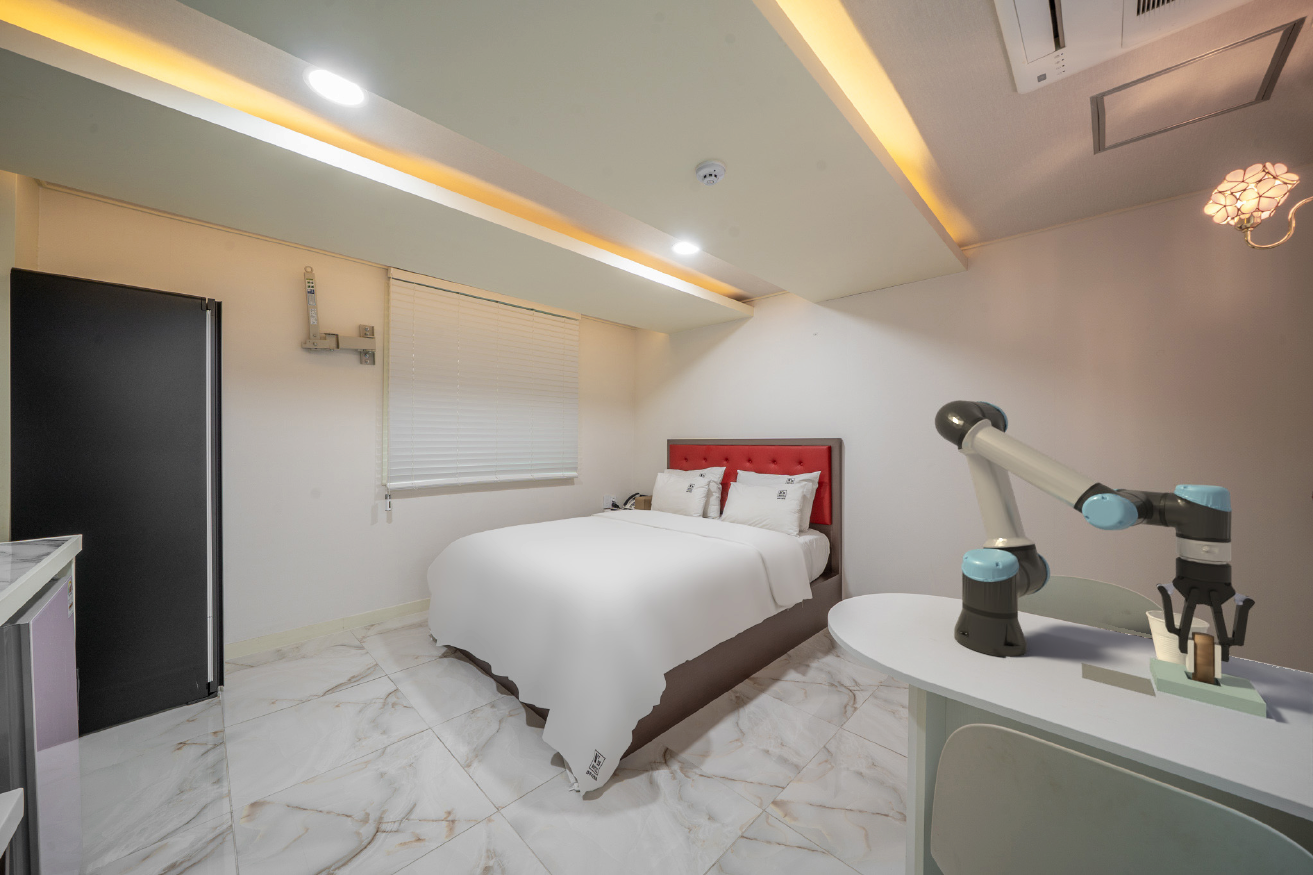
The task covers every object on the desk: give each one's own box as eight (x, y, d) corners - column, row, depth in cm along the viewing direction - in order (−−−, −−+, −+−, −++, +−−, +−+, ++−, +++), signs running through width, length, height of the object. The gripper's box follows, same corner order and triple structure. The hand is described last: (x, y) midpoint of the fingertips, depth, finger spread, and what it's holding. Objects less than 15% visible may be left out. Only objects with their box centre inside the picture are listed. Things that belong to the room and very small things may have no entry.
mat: (1082, 679, 101) (1082, 677, 101) (1081, 664, 108) (1081, 662, 108) (1155, 698, 94) (1155, 696, 94) (1150, 681, 101) (1150, 679, 101)
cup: (1224, 678, 102) (1224, 628, 102) (1170, 673, 104) (1170, 624, 104) (1182, 657, 112) (1183, 611, 112) (1134, 653, 114) (1134, 608, 114)
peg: (1193, 692, 96) (1193, 634, 96) (1190, 686, 98) (1190, 630, 98) (1216, 698, 94) (1215, 639, 94) (1212, 692, 96) (1212, 634, 96)
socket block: (1157, 692, 96) (1157, 677, 96) (1149, 670, 105) (1149, 657, 105) (1266, 719, 87) (1266, 704, 87) (1248, 693, 96) (1248, 679, 96)
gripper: (1148, 556, 99) (1149, 666, 99) (1271, 570, 88) (1271, 694, 88) (1144, 550, 104) (1145, 654, 104) (1259, 562, 93) (1260, 678, 93)
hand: (1203, 672), depth 96 cm, fingers closed on peg, 3 cm apart
